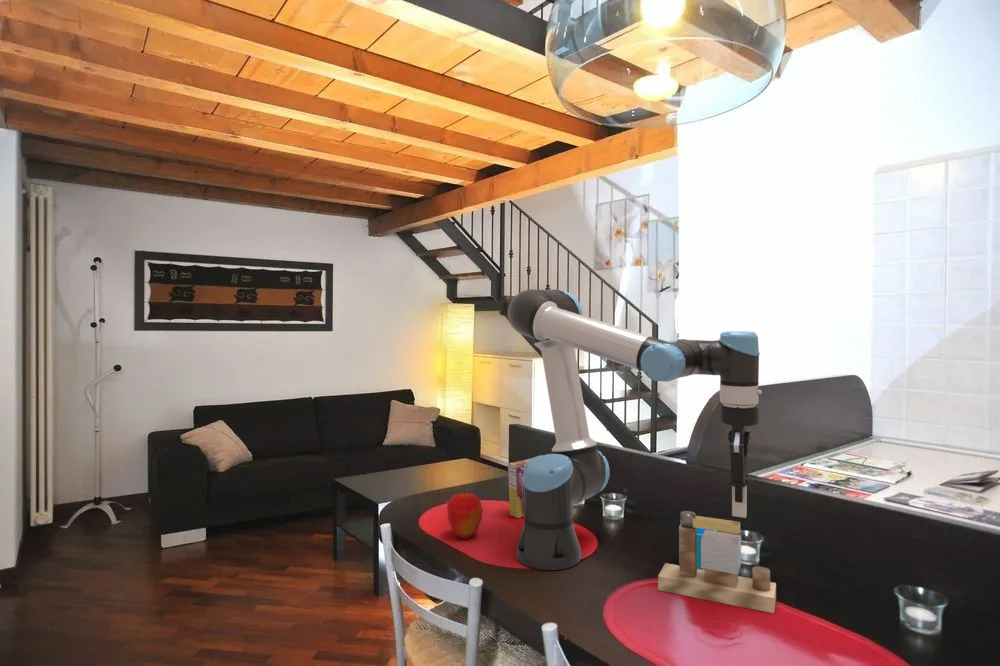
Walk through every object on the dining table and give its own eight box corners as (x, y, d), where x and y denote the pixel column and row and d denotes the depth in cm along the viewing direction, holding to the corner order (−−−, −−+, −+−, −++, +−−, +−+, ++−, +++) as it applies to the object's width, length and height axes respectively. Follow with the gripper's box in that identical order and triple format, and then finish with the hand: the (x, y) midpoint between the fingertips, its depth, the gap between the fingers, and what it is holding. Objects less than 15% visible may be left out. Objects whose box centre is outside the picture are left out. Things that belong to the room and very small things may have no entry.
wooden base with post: (658, 590, 124) (657, 527, 123) (665, 576, 130) (665, 517, 130) (774, 613, 114) (774, 545, 113) (776, 597, 120) (776, 533, 119)
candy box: (532, 508, 176) (531, 457, 176) (541, 512, 173) (540, 460, 172) (508, 515, 171) (507, 462, 170) (517, 519, 167) (516, 465, 167)
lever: (679, 526, 123) (679, 514, 123) (682, 521, 126) (682, 510, 126) (738, 534, 118) (738, 522, 118) (740, 529, 121) (740, 518, 120)
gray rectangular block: (701, 567, 120) (701, 538, 120) (705, 557, 125) (705, 529, 125) (738, 574, 117) (738, 544, 117) (741, 563, 122) (740, 535, 122)
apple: (489, 535, 156) (489, 489, 155) (465, 545, 149) (464, 498, 149) (464, 527, 162) (464, 483, 161) (440, 536, 155) (439, 491, 155)
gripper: (756, 410, 117) (756, 528, 118) (761, 401, 129) (760, 508, 130) (716, 408, 121) (716, 523, 121) (724, 399, 132) (724, 504, 133)
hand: (739, 515), depth 125 cm, fingers closed
